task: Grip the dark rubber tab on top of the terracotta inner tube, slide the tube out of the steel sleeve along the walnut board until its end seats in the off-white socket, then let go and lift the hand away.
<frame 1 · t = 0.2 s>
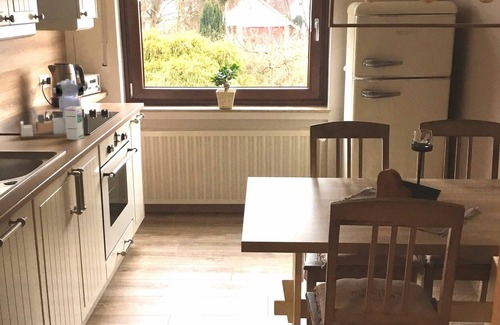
hand: (70, 91, 266), 21 cm above the counter, tool horizontal, fingers open, 7 cm apart
sleeve: (62, 134, 276), resting on base board
base board: (50, 135, 274), on the counter
syrup box: (75, 138, 269), on the counter
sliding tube: (53, 122, 273), point 6 cm above the counter, slide at 0.0 cm
socket: (27, 137, 271), resting on base board
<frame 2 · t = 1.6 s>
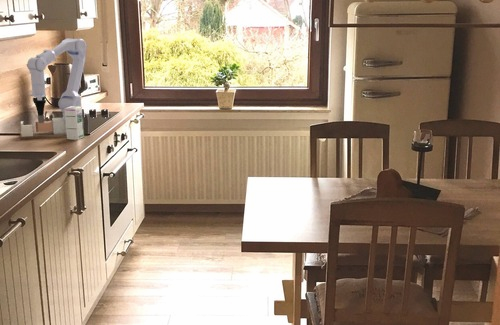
hand: (40, 114, 270), 10 cm above the counter, tool pointing down, fingers open, 7 cm apart
nothing on the counter moved.
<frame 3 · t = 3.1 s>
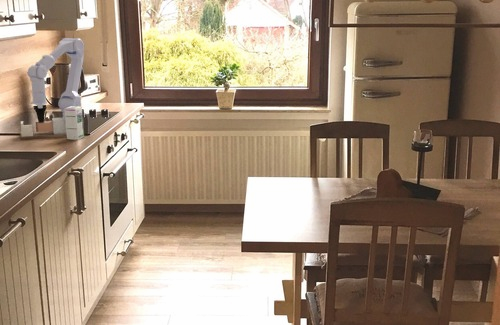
hand: (41, 121, 271), 7 cm above the counter, tool pointing down, fingers closed on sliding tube, 2 cm apart
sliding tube: (53, 122, 273), point 6 cm above the counter, slide at 0.0 cm, touching gripper
everything else where it was.
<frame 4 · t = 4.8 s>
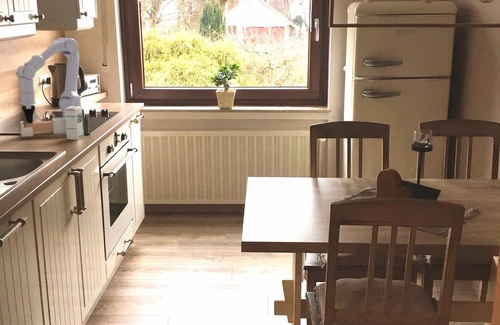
hand: (29, 122, 270), 7 cm above the counter, tool pointing down, fingers closed on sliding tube, 2 cm apart
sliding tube: (42, 122, 272), point 6 cm above the counter, slide at 4.8 cm, touching gripper
everything else where it was.
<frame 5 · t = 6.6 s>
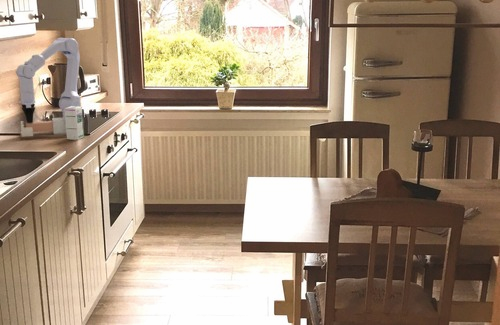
hand: (29, 121, 269), 7 cm above the counter, tool pointing down, fingers open, 7 cm apart
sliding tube: (42, 122, 272), point 6 cm above the counter, slide at 4.8 cm
everything else where it was.
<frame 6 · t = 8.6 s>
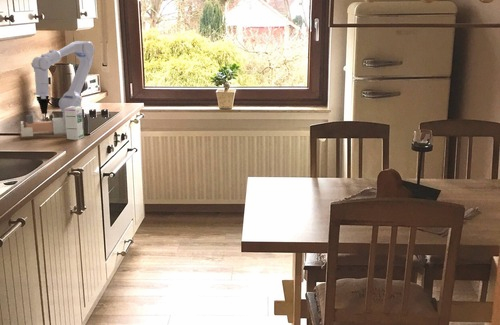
hand: (43, 112, 274), 10 cm above the counter, tool pointing down, fingers open, 7 cm apart
nothing on the counter moved.
at the end: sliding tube slide at 4.8 cm; the gripper is holding nothing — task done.
